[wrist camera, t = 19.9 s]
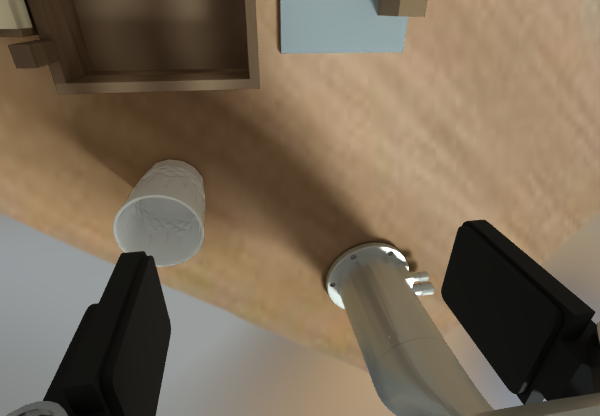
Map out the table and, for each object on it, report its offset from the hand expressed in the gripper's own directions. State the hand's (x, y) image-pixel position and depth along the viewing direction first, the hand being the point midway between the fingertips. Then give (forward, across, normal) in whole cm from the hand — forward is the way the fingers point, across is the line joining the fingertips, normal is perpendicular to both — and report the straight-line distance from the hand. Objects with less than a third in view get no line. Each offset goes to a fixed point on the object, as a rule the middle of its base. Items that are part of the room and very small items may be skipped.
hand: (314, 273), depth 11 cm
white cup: (+31, +10, +11) cm, 34 cm away
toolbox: (+30, +10, -7) cm, 33 cm away
